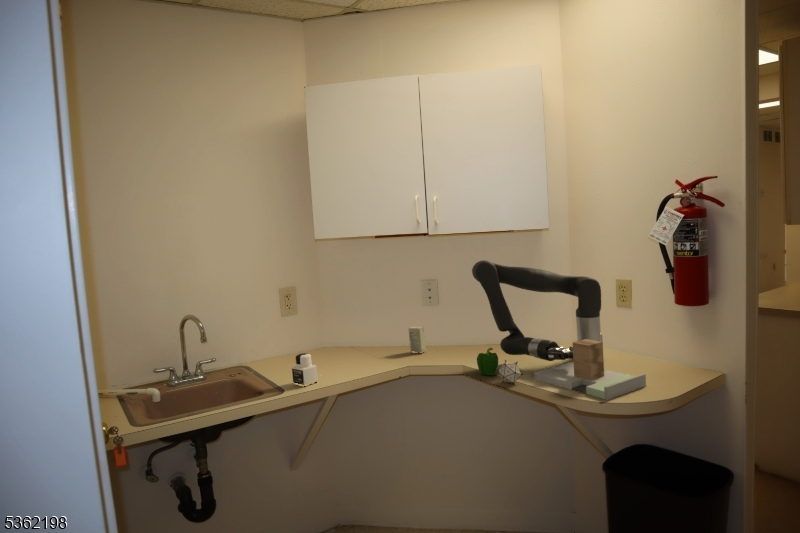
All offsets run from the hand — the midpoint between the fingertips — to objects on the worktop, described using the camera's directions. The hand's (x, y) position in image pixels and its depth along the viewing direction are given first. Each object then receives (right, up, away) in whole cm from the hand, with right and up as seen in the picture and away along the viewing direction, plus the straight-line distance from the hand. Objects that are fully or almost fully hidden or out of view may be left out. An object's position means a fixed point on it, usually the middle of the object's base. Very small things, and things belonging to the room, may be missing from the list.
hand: (580, 357), depth 181 cm
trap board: (+2, -9, -2) cm, 9 cm away
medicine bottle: (-101, -15, +23) cm, 105 cm away
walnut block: (+2, -6, -3) cm, 7 cm away
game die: (-24, -10, +4) cm, 26 cm away
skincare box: (-55, -9, +60) cm, 82 cm away
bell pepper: (-29, -10, +17) cm, 35 cm away
